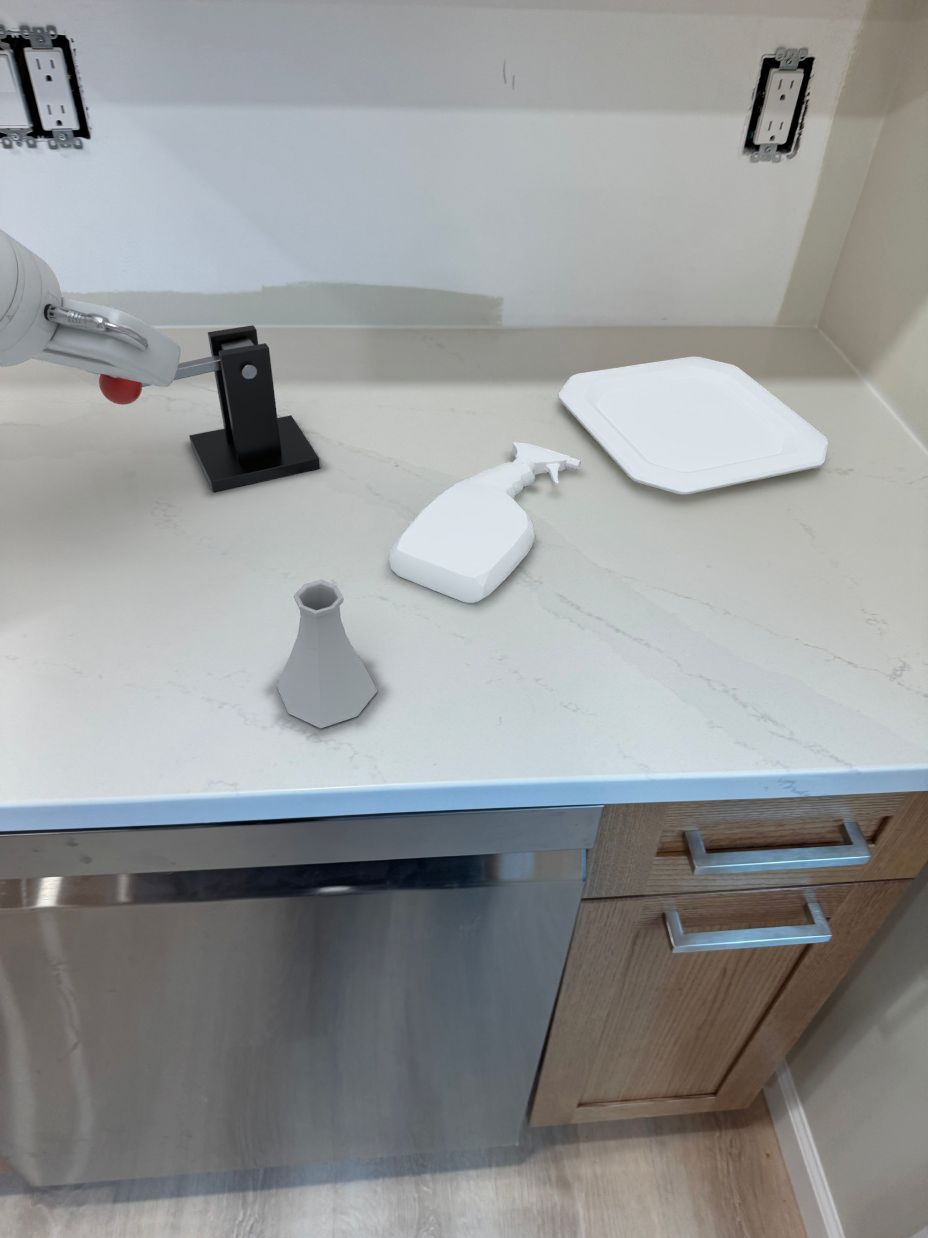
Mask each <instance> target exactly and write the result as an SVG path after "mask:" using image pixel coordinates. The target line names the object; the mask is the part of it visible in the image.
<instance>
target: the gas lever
mask: <svg viewBox="0 0 928 1238" xmlns="http://www.w3.org/2000/svg"><path fill="white" fill-rule="evenodd" d="M252 345H254V344H253V343H252V341H251V340H250V338H248V339H243V340H238V341H233V342H229V343H224V344H221V349H222V350H227V349H233V348H239V347H245V346H252ZM218 370H222V368H221V362H220V356H219V355H216V356H212V355H211V356H206V357H203V358H197V359H193V360H188V361H184V362H179V364H178V368H177V372H176V375H175V378H174V380H173V381H177V380H181V379H187V378H190V377H191V378H192V377H196V376H200V375H203V374H208V373H213V372H214V371H218ZM98 386H99V389H100V392H101V393H102V395H103V396H104V397H105V398H106V399H107V400H108V401H109V402H111V403H113V404H117V405H121V406H123V405H129V404H132V403H134V402H135V401H137V400H138V399H139V397H140V396H141V394H142V391H143V388H146V387H150V386H152V385H151V384H146V383H142V382H137V381H132V380H128V379H123V378H119V377H117V378H113V377H109V376H105V375H100V374H99V378H98Z"/></svg>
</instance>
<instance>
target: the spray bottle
mask: <svg viewBox="0 0 928 1238" xmlns="http://www.w3.org/2000/svg"><path fill="white" fill-rule="evenodd" d="M511 454H512V455H513V456H514V457H515V459H514V460H513V461H506V462H504V463H501V464H499V465H496V466H493V467H490V468H487V469H485V470H483V471H481V472H478V473H477V474H474V475H473V476H471V477H469V478H466V479H464V480H460V481H458V482H456V483H454V484H453V485H452V486H450V487H448V488H447V489H446V490H444V491H442V492H441V493H440V494H438V496H436V497H435V498H434V499H433V500H432V501H431V502H429V503H428V504H427V505H426V506H425V507H424V508H423V509H422V510H420V511H419V512H418V514H417V515H416V516H415V518H414V519H412V521H411V522H410V524H409V525H407V527H406V529H405V530H404V531H403V532H402V534H401V535H400V536H399V537H398V538H397V540H396V541H395V543H394V544H393V545H392V546H391V548H390V551H389V554H388V560H389V565H390V568H391V571H392V572H394V574H396V576H398V577H399V578H402V579H403V580H404V579H405V580H406V581H409V582H412V583H415V584H417V585H420V586H422V587H424V588H427V589H430V590H433V591H434V592H437V593H440V594H442V595H445V596H447V597H449V598H452V599H455V600H457V601H460V602H462V603H466V604H467V603H468V604H469V603H470V604H474V603H478V602H480V601H482V600H483V599H485V598H487V597H488V596H489V595H491V594H492V593H493V592H494V591H495V590H496V589H497V588H498V587H499V586H500V585H501V584H502V583H503V582H504V581H505V580H506V579H507V578H508V577H509V576H510V575H511V573H512V572H513V571H514V570H515V569H516V568H517V567H518V566H519V564H520V563H521V562H522V561H523V560H524V559H525V557H526V556H527V555H528V554H529V553H530V550H531V549H532V547H533V545H534V542H535V539H536V533H535V528H534V524H533V522H532V521H531V519H530V516H529V515H528V513H527V512H526V511H525V510H524V509H523V507H521V505H519V504H518V503H517V501H516V500H515V499H516V496H517V495H519V494H520V493H522V492H523V489H524V488H526V487H527V488H528V487H529V486H531V485H532V484H533V483H534V482H535V480H536V475H540V474H544V473H545V474H546V473H549V476H550V478H551V480H552V483H553V485H554V486H555V487H559V484H560V483H559V478H558V477H559V472H563V471H564V470H566V469H567V468H568V469H571V470H574V471H575V470H576V471H579V469H580V467H581V464H582V460H579V459H577V458H574V457H571V455H569V454H565V453H562V452H558V451H555V450H552V449H549V448H546V447H542V446H539V445H536V444H533V443H526V442H515V441H513V442H512V446H511Z"/></svg>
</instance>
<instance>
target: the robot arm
mask: <svg viewBox="0 0 928 1238" xmlns="http://www.w3.org/2000/svg"><path fill="white" fill-rule="evenodd" d="M180 358H181V346H180V345H179V343H178V342H177V341H175V340H174V339H173V338H171V337H170V336H168V335H167V334H165V333H163V332H162V331H160V330H159V329H157V328H155V327H154V326H153V325H150V324H149V323H148V322H146V321H144V320H143V319H140V318H139V317H137V316H135V315H133V314H131V313H128V312H126V311H123V310H121V309H118V308H115V307H111V306H107V305H102V304H98V303H93V302H89V301H83V300H79V299H74V298H68V297H64V296H62V290H61V285H60V283H59V280H58V278H57V275H56V273H55V272H54V270H53V269H52V267H51V266H50V264H48V263H47V261H45V260H44V259H43V258H42V257H40V256H39V255H38V254H36V253H35V252H34V251H32V250H30V249H29V248H28V247H27V246H25V245H24V244H23V243H21V242H19V241H18V240H17V239H16V238H14V237H12V236H11V235H10V234H8V233H7V232H5V231H4V230H3V229H1V228H0V368H5V367H6V368H9V367H13V366H18V365H20V364H21V365H22V364H23V363H25V362H27V361H29V360H37V361H41V362H46V363H50V364H55V365H59V366H64V367H67V368H68V367H69V368H74V369H79V370H81V371H85V372H87V373H91V374H96V375H99V376H100V375H105V376H109V377H113V378H117V377H119V378H123V379H128V380H132V381H137V382H142V383H146V384H151V385H150V386H156V387H159V388H168V387H170V386H171V385H172V383H173V382H174V381H175V380H174V378H175V375H176V372H177V368H178V364H179V363H180Z"/></svg>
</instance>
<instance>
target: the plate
mask: <svg viewBox="0 0 928 1238" xmlns="http://www.w3.org/2000/svg"><path fill="white" fill-rule="evenodd" d="M557 396H558V400H559V401H560V403H561V404H562V405H563V406H564V407H565V408H566V410H568V412H570V414H571V415H572V416H573V417H574V418H575V419H576V421H578V423H580V425H581V426H582V427H583V428H584V429H585V430H586V432H588V433H589V435H590V436H591V437H592V438H593V440H595V441H596V442H597V444H599V446H600V447H601V448H602V449H603V450H604V451H605V452H606V454H607V455H609V457H610V458H611V460H613V461H614V462H615V463H616V464H617V465H618V467H619V468H620V469H621V470H622V471H623V473H625V474H626V476H627V477H628V478H629V479H630V480H632V481H634V482H635V483H638V484H641V485H645V486H648V487H651V488H655V489H659V490H662V491H666V492H670V493H673V494H676V495H677V494H678V495H685V496H689V495H693V494H697V493H702V492H703V493H704V492H708V491H712V490H717V489H721V488H727V487H731V486H736V485H741V484H745V483H751V482H756V481H760V480H765V479H770V478H775V477H778V476H779V477H781V476H784V475H788V474H794V473H798V472H804V471H808V470H812V469H813V470H814V469H818V468H820V467H822V466H823V465H824V464H825V461H826V456H827V451H828V447H829V446H828V445H829V440H828V438H827V437H826V436H825V435H824V434H823V433H822V432H821V431H819V430H818V429H816V427H814V426H813V425H811V424H810V423H809V422H808V421H806V420H805V419H804V418H802V417H801V416H800V415H799V414H797V412H795V411H794V410H793V409H791V408H790V407H789V406H787V404H785V403H784V402H782V401H781V400H780V399H779V398H778V397H776V396H775V395H774V394H772V393H771V392H770V391H769V390H768V389H766V388H765V387H764V386H762V385H761V384H760V383H759V382H757V381H756V380H755V379H753V377H751V376H750V375H749V374H748V373H746V372H745V371H744V370H742V369H741V368H740V367H738V366H737V365H735V364H732V363H728V362H727V363H726V362H722V361H718V360H713V359H711V358H705V357H703V356H694V355H693V356H687V357H680V358H674V359H673V358H672V359H665V360H660V361H654V362H653V361H652V362H647V363H639V364H633V365H627V366H620V367H613V368H607V369H600V370H594V371H587V372H579V373H576V374H573V375H571V376H570V377H569V378H568V379H567V381H566V382H565V384H564V385H563V386H562V387H561V389H560V390H559V392H558V394H557Z"/></svg>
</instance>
